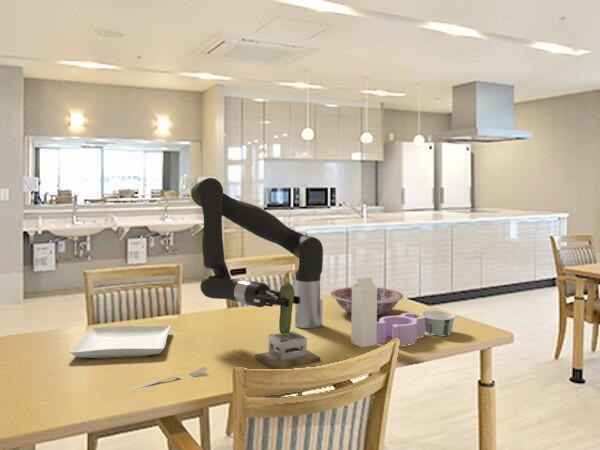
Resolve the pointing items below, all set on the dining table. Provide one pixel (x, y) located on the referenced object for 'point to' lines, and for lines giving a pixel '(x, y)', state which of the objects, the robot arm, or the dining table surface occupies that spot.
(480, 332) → the dining table surface
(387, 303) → the ceramic bowl
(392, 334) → the clip
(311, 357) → the brown rectangular board
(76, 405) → the dining table surface
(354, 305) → the milk
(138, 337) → the square plate
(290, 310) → the vegetable
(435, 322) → the food container
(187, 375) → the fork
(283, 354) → the gray slotted crate
